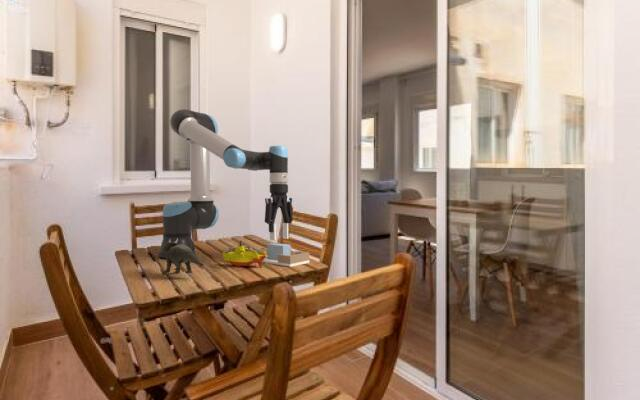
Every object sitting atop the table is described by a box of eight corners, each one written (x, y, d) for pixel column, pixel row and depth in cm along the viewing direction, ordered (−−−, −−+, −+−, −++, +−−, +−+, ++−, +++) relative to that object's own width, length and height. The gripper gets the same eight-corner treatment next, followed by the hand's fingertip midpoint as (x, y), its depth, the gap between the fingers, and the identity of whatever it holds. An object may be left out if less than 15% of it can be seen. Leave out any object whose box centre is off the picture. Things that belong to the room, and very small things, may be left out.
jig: (228, 256, 169) (228, 247, 169) (248, 253, 178) (248, 245, 178) (290, 266, 146) (290, 256, 146) (309, 262, 155) (309, 252, 155)
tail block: (267, 258, 159) (267, 244, 159) (275, 257, 163) (275, 243, 162) (282, 260, 153) (282, 245, 153) (290, 259, 157) (290, 244, 157)
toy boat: (260, 269, 142) (260, 242, 142) (218, 266, 148) (218, 240, 147) (268, 266, 148) (268, 240, 148) (227, 263, 154) (227, 238, 154)
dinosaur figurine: (206, 274, 132) (206, 242, 132) (184, 279, 126) (183, 244, 125) (175, 266, 146) (175, 237, 146) (153, 270, 140) (153, 239, 140)
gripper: (267, 182, 147) (268, 242, 148) (301, 183, 163) (301, 237, 163) (254, 183, 152) (255, 241, 152) (288, 184, 168) (288, 236, 168)
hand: (279, 239), depth 158 cm, fingers open, 7 cm apart
